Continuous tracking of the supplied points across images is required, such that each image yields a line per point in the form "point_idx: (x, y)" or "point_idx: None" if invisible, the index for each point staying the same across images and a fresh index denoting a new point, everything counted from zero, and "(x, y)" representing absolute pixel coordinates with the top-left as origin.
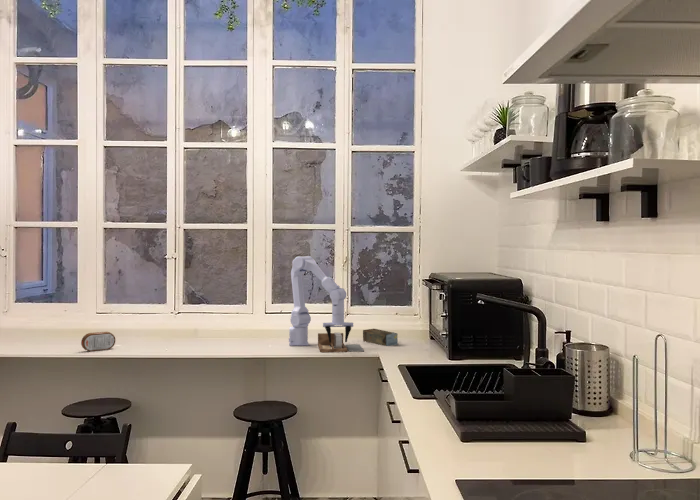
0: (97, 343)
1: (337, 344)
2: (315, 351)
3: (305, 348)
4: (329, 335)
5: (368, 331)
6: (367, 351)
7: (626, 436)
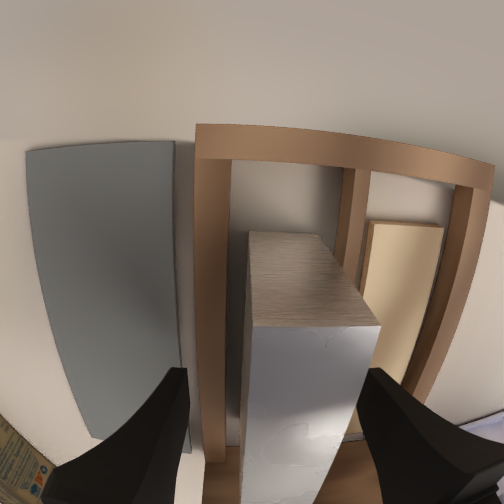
0: None
1: (316, 259)
2: (494, 217)
3: (497, 348)
4: (422, 415)
5: None
6: (6, 156)
7: None
